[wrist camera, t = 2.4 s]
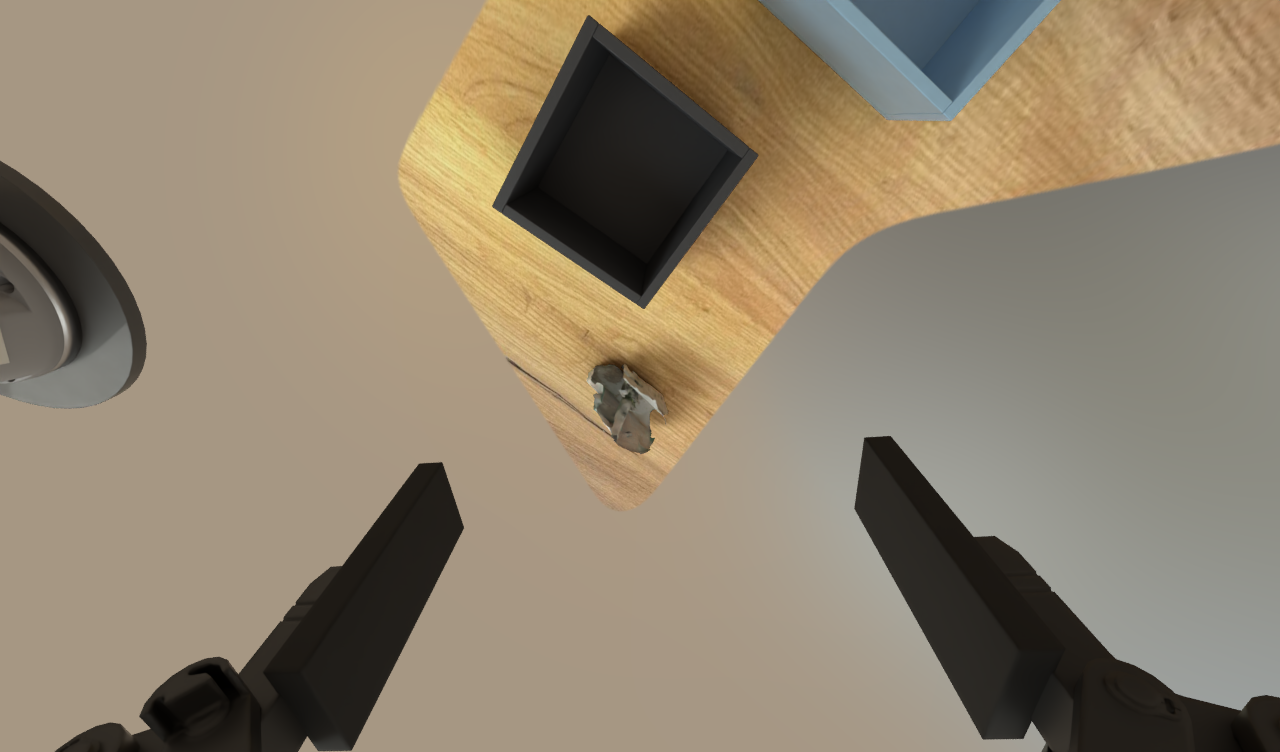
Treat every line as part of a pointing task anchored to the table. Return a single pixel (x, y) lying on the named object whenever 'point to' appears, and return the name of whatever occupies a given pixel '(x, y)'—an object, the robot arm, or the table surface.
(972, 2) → the paper bin
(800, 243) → the table surface
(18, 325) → the robot arm
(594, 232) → the waste bin
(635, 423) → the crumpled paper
